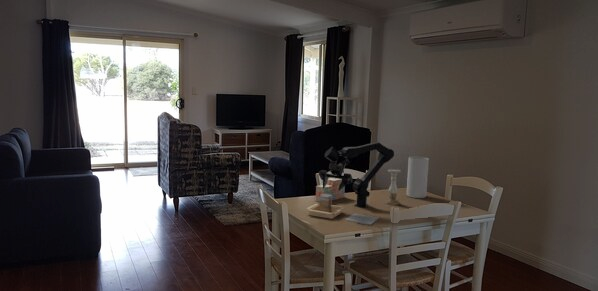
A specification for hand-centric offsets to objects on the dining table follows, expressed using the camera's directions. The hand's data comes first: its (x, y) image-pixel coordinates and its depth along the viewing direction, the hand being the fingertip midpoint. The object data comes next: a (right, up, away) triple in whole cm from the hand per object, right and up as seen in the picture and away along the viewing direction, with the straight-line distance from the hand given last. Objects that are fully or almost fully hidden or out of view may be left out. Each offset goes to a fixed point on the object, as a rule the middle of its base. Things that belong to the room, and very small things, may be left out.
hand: (330, 189), depth 247 cm
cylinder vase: (+59, -9, +47) cm, 76 cm away
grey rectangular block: (-3, -13, -5) cm, 14 cm away
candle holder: (+39, -11, +25) cm, 48 cm away
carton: (-3, -13, -5) cm, 14 cm away
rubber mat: (+15, -15, -12) cm, 24 cm away
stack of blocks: (+2, -9, +31) cm, 33 cm away
